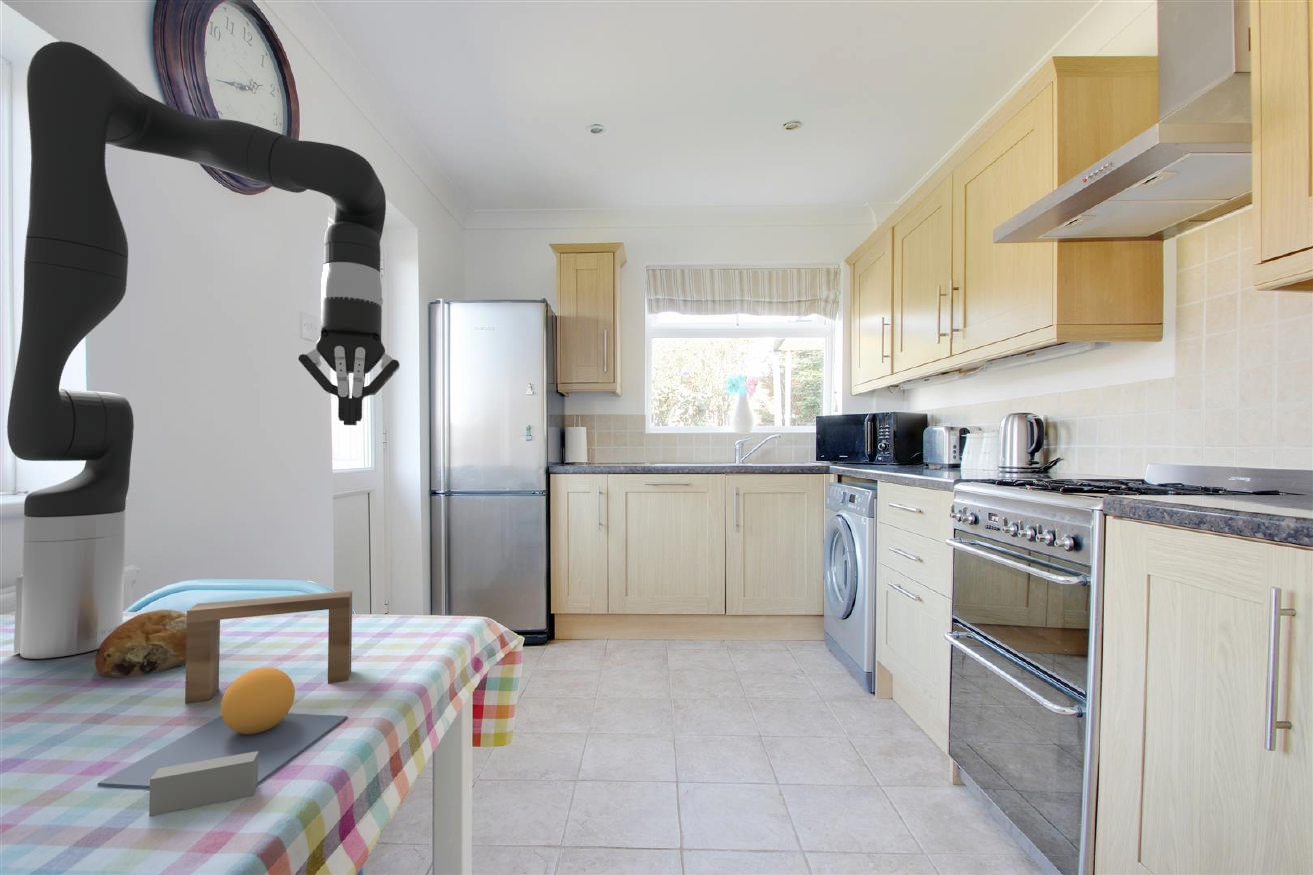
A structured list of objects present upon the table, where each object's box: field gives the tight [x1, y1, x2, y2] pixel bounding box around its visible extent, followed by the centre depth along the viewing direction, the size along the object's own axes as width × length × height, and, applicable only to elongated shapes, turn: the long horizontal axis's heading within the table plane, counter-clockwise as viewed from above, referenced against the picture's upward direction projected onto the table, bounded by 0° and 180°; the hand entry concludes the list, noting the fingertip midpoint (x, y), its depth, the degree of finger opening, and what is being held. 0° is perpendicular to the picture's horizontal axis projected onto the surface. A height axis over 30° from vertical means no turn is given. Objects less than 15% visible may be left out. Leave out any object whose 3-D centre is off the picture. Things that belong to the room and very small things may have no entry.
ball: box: [220, 666, 296, 734], centre depth 52 cm, size 6×6×6 cm
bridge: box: [184, 590, 353, 704], centre depth 61 cm, size 3×14×9 cm, turn 113°
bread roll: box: [94, 608, 187, 678], centre depth 69 cm, size 10×10×8 cm
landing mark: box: [97, 712, 348, 790], centre depth 48 cm, size 12×12×1 cm
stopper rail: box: [148, 751, 259, 817], centre depth 41 cm, size 2×6×2 cm, turn 113°
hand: (350, 424), depth 79 cm, fingers closed
